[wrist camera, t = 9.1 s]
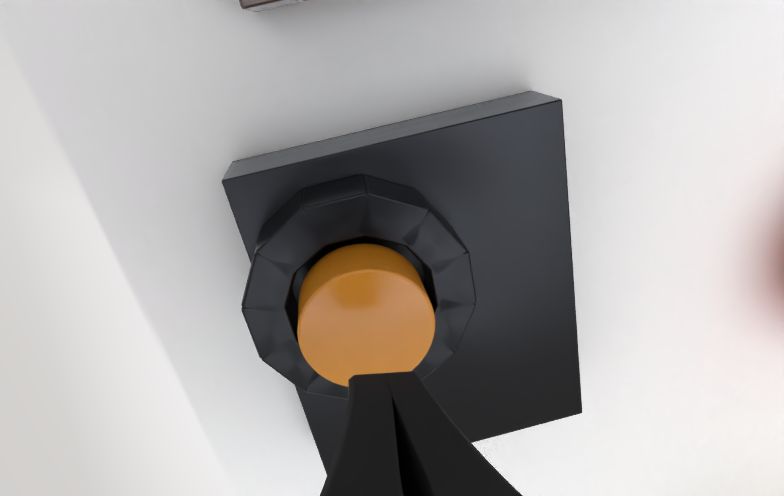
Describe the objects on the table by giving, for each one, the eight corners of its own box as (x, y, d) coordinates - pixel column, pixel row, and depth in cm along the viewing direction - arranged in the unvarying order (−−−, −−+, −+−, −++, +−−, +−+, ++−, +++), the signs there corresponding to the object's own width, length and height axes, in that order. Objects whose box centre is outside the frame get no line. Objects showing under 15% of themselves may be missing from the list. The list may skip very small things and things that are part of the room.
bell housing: (321, 440, 21) (323, 525, 18) (224, 163, 16) (199, 203, 13) (558, 377, 22) (607, 448, 18) (533, 90, 17) (593, 108, 13)
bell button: (317, 364, 16) (318, 403, 14) (282, 260, 14) (279, 290, 13) (432, 335, 16) (446, 369, 14) (410, 228, 14) (422, 254, 13)
